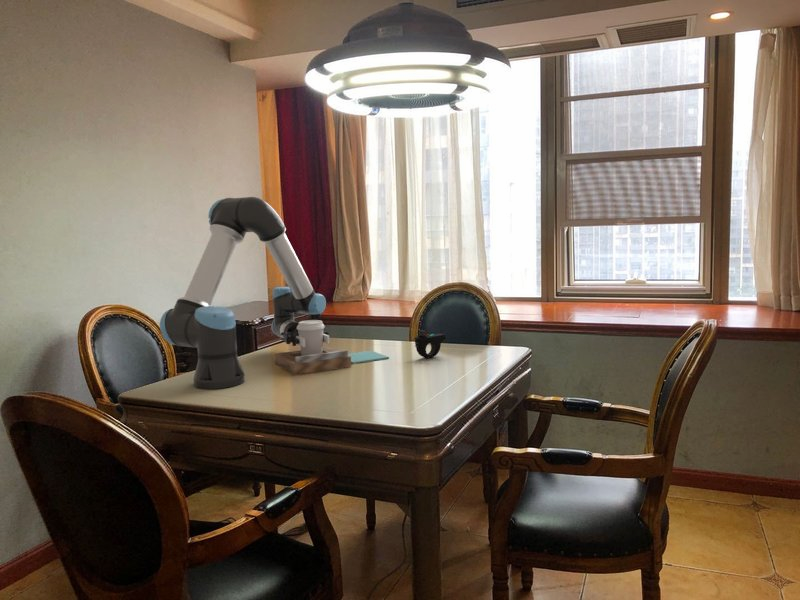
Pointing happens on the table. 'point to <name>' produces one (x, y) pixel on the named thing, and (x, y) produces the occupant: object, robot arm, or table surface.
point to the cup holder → (313, 360)
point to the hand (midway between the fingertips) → (316, 341)
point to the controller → (424, 340)
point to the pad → (366, 356)
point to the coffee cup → (311, 336)
